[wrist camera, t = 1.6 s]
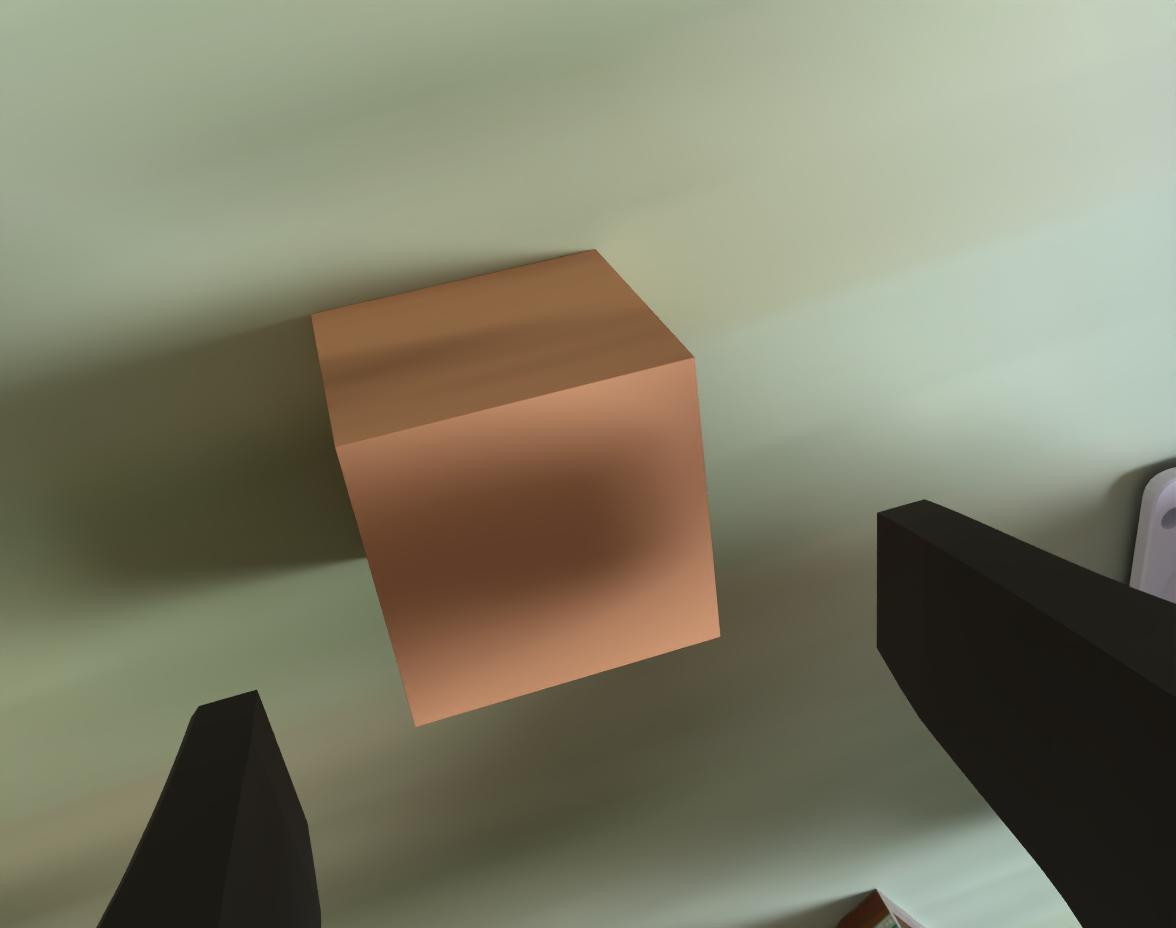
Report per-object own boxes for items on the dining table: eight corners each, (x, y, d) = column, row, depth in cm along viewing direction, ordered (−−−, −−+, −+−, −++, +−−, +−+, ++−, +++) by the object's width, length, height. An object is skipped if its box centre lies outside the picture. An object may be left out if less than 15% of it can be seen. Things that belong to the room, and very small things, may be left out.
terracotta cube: (626, 486, 20) (720, 636, 16) (378, 553, 19) (416, 726, 15) (593, 248, 18) (694, 357, 14) (310, 312, 17) (334, 447, 13)
